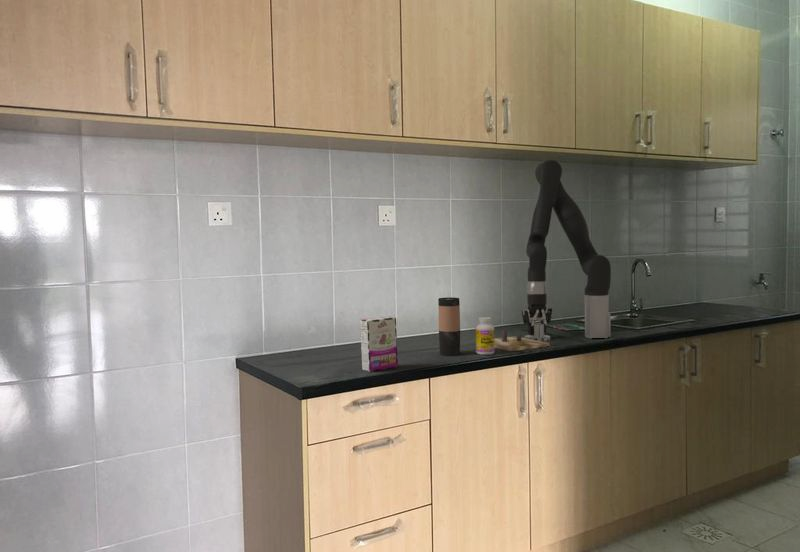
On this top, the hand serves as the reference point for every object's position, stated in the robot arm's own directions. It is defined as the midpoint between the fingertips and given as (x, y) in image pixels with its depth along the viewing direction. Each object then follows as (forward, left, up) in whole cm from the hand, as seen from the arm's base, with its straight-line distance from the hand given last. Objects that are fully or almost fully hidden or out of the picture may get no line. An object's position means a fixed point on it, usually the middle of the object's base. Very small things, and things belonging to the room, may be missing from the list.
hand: (537, 334), depth 256 cm
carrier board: (+16, +5, -2) cm, 17 cm away
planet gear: (0, 0, -2) cm, 2 cm away
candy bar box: (+78, +17, -2) cm, 80 cm away
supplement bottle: (+35, +14, -2) cm, 38 cm away
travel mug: (+46, +8, -2) cm, 47 cm away
